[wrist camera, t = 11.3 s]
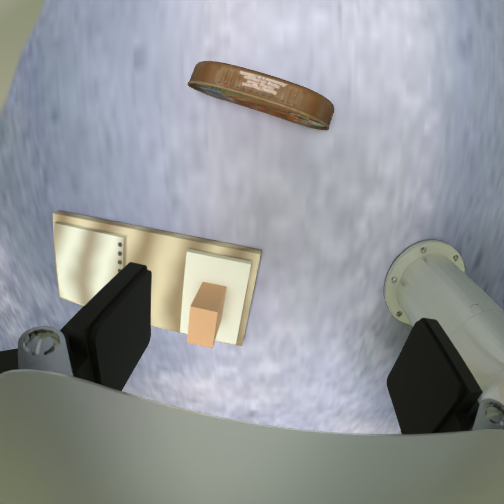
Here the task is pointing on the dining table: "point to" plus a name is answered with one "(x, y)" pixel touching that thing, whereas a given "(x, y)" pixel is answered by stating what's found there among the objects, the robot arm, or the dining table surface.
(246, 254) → the ticket pad
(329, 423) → the dining table surface
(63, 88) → the dining table surface
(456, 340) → the robot arm
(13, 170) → the dining table surface
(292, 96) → the tin
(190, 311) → the stub
